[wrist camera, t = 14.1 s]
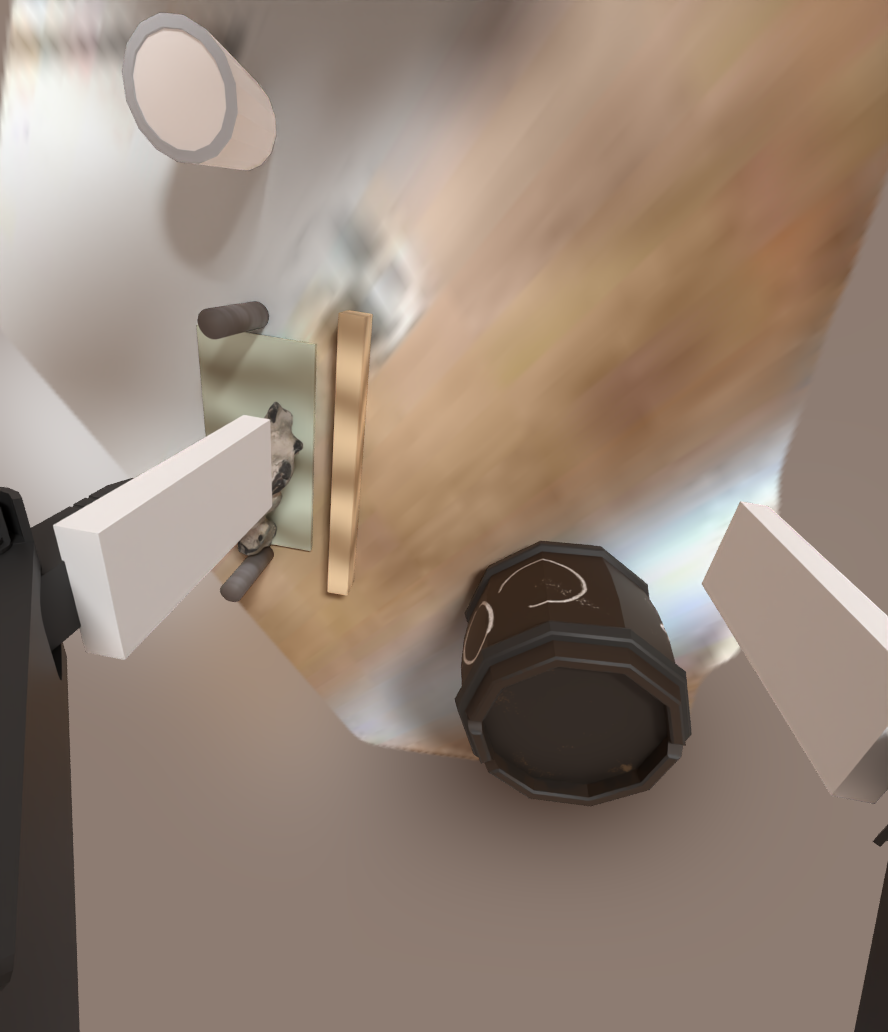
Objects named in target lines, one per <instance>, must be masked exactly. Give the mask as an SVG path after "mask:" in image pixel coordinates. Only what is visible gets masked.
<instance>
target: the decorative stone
mask: <svg viewBox="0 0 888 1032" xmlns="http://www.w3.org/2000/svg"><path fill="white" fill-rule="evenodd" d="M264 419H270V429H271V475H272V507H271V508H270V509H269V510H268V511H267V512H266V513H265V515H266V514H267V513H269V512H273V511H274V509H275V508H276V507H277V506H278V505H279V504H280V502H281V499H282V497H283V496H282V493H281V490H282V489H283V488H284V487H285V486H286V485H287V484H288V483H289V481H290V480H291V478H292V476H293V473H294V457H295V455H297V454H299V451H301V450H302V449H303V443H302V442H301V441H300V440H299V439H297V438H296V437H295V436H294V435H293V433H292V425H293V415H292V414H291V412H289V411H288V410H286V409H284V408H282V407H281V405H280V404H279V403H278V402H274V403H273V404H272V406H271V407H270V408H269V410H268V412H267V414H266V416H265V417H264ZM265 515H264V516H263V517H262V518H261V519H260V520H259V521H258V522H257V523H256V524H255V525H254V526H253V527H252V528H251V529H250V530H249V531H248V532H247V533H246V534H245V535H244V536H243V537H242V538H241V539H240V541H239V542H238V549H239V552H241V553H243V554H245V555H254V554H257V553H259V552H260V551H261V550H262V549H263V548H264V547H266V546H270V545H271V543H272V539H273V537H274V536H275V535H276V531H277V526H276V525H275V523H274V522H273V521H270V520H268V519H267V518H265Z"/></svg>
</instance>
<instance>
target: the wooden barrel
mask: <svg viewBox="0 0 888 1032" xmlns="http://www.w3.org/2000/svg"><path fill="white" fill-rule="evenodd" d="M465 615H466V618H467V622H468V627H467V630H466V634H465V638H464V645H463V653H462V662H461V675H462V687H461V689H460V690H459V692H458V694H457V696H456V698H455V702H456V706H457V709H458V712H459V715H460V718H461V720H462V723H463V726H464V729H465V731H466V734H467V737H468V740H469V742H470V745H471V748H472V751H473V753H474V755H475V756H477V757H478V758H479V760H480V762H481V763H484V762H485V765H486V767H487V770H488V772H489V773H491V774H492V775H494V776H495V777H497V778H498V779H500V780H501V781H503V782H505V783H506V784H508V785H509V786H511V787H512V788H514V789H516V790H517V791H519V792H520V793H522V794H523V795H525V796H527V797H528V798H531V799H538V800H546V801H554V802H561V803H569V804H577V805H584V806H593V805H597V804H601V803H604V802H608V801H612V800H615V799H619V798H622V797H626V796H630V795H633V794H637V793H640V792H644V791H647V790H650V789H651V788H652V787H653V786H654V785H655V784H656V783H657V782H658V781H659V779H660V778H661V777H662V776H663V775H664V774H665V773H666V772H667V771H668V770H669V769H670V768H671V767H672V766H673V765H674V764H675V763H676V762H677V760H679V759H680V757H681V756H682V749H683V745H686V744H685V741H686V740H687V739H688V738H689V737H690V736H691V721H690V711H689V700H688V689H687V679H686V672H685V671H684V670H683V669H682V668H680V667H679V666H678V665H676V664H675V660H674V656H673V653H672V649H671V645H670V641H669V637H668V635H667V633H666V631H665V628H664V626H663V624H662V621H661V619H660V617H659V614H658V612H657V610H656V609H655V607H654V606H653V604H652V603H651V601H650V599H649V592H648V585H647V584H646V583H645V582H644V581H643V580H642V579H640V578H639V577H638V576H637V575H636V574H634V573H633V572H632V571H631V570H629V569H628V568H627V567H626V566H624V565H623V564H622V563H621V562H619V561H618V560H617V559H616V558H614V557H613V556H612V555H611V554H610V553H608V552H607V551H606V550H605V549H603V548H602V547H601V546H594V545H582V544H571V543H560V542H549V541H539V542H537V543H535V544H533V545H531V546H529V547H527V548H525V549H523V550H521V551H519V552H517V553H515V554H513V555H510V556H508V557H506V558H504V559H502V560H500V561H498V562H496V563H494V564H492V565H490V566H489V567H488V568H487V570H486V572H485V574H484V576H483V578H482V580H481V582H480V584H479V586H478V588H477V590H476V592H475V594H474V596H473V598H472V600H471V602H470V604H469V606H468V608H467V610H466V612H465Z"/></svg>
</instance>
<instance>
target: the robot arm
mask: <svg viewBox="0 0 888 1032" xmlns="http://www.w3.org/2000/svg"><path fill="white" fill-rule="evenodd" d="M271 507H272V475H271V429H270V419H264V418H259V417H253V416H247V415H243V416H241V417H239V418H238V419H236V420H234V421H232V422H231V423H229V424H227V425H225V426H224V427H222V428H220V429H219V430H217V431H215V432H213V433H212V434H210V435H208V436H206V437H205V438H203V439H201V440H200V441H198V442H196V443H194V444H193V445H191V446H189V447H187V448H186V449H184V450H182V451H181V452H179V453H177V454H175V455H174V456H172V457H170V458H168V459H167V460H165V461H163V462H161V463H160V464H158V465H156V466H155V467H153V468H151V469H149V470H148V471H146V472H144V473H142V474H141V475H139V476H137V477H136V478H131V479H127V480H124V481H121V482H117V483H114V484H111V485H107V486H105V487H104V488H102V489H100V490H98V491H97V492H95V493H93V494H91V495H90V496H89V498H84V499H82V500H80V501H79V502H77V503H75V504H74V506H73V507H68V508H66V509H64V510H63V511H61V512H59V513H57V514H55V515H53V516H52V517H50V518H48V519H46V520H45V521H43V522H41V523H39V524H37V525H35V526H34V527H32V528H30V525H29V521H28V518H27V514H26V511H25V507H24V504H23V500H22V497H21V495H20V494H19V492H17V491H14V490H12V489H10V488H5V487H0V1032H80V1030H79V1002H78V972H77V943H76V915H75V887H74V886H75V885H74V856H73V828H72V798H71V769H70V739H69V711H68V682H67V656H66V652H65V649H64V645H63V641H64V640H66V639H67V638H68V637H69V636H70V635H72V634H73V633H74V632H75V631H76V630H77V629H78V628H80V632H81V636H82V640H83V644H84V648H85V652H87V653H92V654H97V655H102V656H107V657H113V658H118V659H123V660H125V659H126V658H127V657H128V656H129V655H130V654H131V653H132V652H133V651H134V650H135V649H136V648H137V647H138V645H140V643H142V641H143V640H144V639H145V638H146V637H147V636H148V635H149V634H150V633H151V632H152V631H153V630H154V629H155V628H156V627H157V626H158V625H159V624H160V622H162V621H163V620H164V619H165V618H166V616H167V615H168V614H169V613H170V612H171V611H172V610H173V609H174V608H175V607H176V606H177V605H178V604H179V603H180V602H181V601H182V600H183V599H184V598H185V597H186V596H187V595H188V594H189V592H190V591H191V590H192V589H193V588H194V587H195V586H196V585H197V584H198V583H199V582H200V581H201V580H202V579H203V578H204V577H205V576H206V575H207V574H208V573H209V572H210V571H211V570H212V569H213V568H214V567H215V566H216V564H217V563H218V562H219V561H220V560H221V559H222V558H223V557H224V556H225V555H226V554H227V553H228V552H229V551H230V550H231V549H232V548H233V547H234V546H235V545H236V544H237V543H238V542H239V541H240V539H241V538H242V537H243V536H244V535H245V534H246V533H247V532H248V531H249V530H250V529H251V528H252V527H253V526H254V525H255V524H256V523H257V522H258V521H259V520H260V519H261V518H262V517H263V516H264V515H265V513H266V512H267V511H268V510H269V509H270V508H271ZM702 585H703V587H704V588H705V590H706V592H707V593H708V595H709V597H710V598H711V600H712V601H713V603H714V605H715V606H716V608H717V610H718V611H719V613H720V615H721V616H722V618H723V619H724V621H725V623H726V624H727V626H728V628H729V629H730V631H731V633H732V634H733V636H734V637H735V639H736V641H737V642H738V644H739V646H740V647H741V649H742V651H743V652H744V654H745V655H746V657H747V659H748V660H749V662H750V663H751V665H752V667H753V669H754V670H755V672H756V673H757V675H758V677H759V678H760V680H761V682H762V683H763V685H764V686H765V688H766V690H767V691H768V693H769V695H770V696H771V698H772V700H773V701H774V703H775V704H776V706H777V708H778V709H779V711H780V713H781V714H782V716H783V718H784V719H785V721H786V722H787V724H788V726H789V727H790V729H791V731H792V732H793V734H794V736H795V737H796V739H797V740H798V742H799V744H800V745H801V747H802V749H803V750H804V752H805V754H806V755H807V757H808V758H809V760H810V762H811V763H812V765H813V767H814V768H815V770H816V772H817V773H818V775H819V776H820V778H821V780H822V781H823V783H824V785H825V786H826V788H827V790H828V791H829V793H830V794H831V796H835V797H841V798H846V799H851V800H856V801H861V802H867V803H872V804H875V803H876V802H877V801H878V800H879V799H880V797H881V796H882V795H883V794H884V793H885V792H886V791H887V790H888V616H887V615H886V614H885V613H884V612H883V611H882V610H880V609H879V608H878V607H877V606H876V605H875V604H874V603H873V602H872V601H871V600H870V599H869V598H867V597H866V596H865V595H864V594H863V593H862V592H861V591H860V590H859V589H858V588H857V587H856V586H855V585H853V584H852V583H851V582H850V581H849V580H848V579H847V578H846V577H845V576H843V574H842V573H840V572H839V571H838V570H837V569H836V568H835V567H834V566H833V565H832V564H831V563H830V562H828V561H827V560H826V559H825V558H824V557H823V556H822V555H821V554H820V553H819V552H818V551H817V550H815V549H814V548H813V547H812V546H811V545H810V544H809V543H808V542H807V541H806V540H805V539H804V538H803V537H801V536H800V535H799V534H798V533H797V532H796V531H795V530H794V529H793V528H792V527H791V526H790V525H788V524H787V523H786V522H785V521H784V520H783V519H782V518H781V517H780V516H779V515H778V514H777V513H775V512H774V511H773V510H772V509H771V508H770V507H769V506H764V505H759V504H753V503H747V502H741V501H740V503H739V505H738V507H737V509H736V512H735V514H734V516H733V518H732V520H731V522H730V524H729V527H728V529H727V531H726V533H725V535H724V537H723V539H722V542H721V544H720V546H719V548H718V550H717V552H716V554H715V556H714V559H713V561H712V563H711V565H710V567H709V569H708V571H707V574H706V576H705V578H704V580H703V582H702ZM885 841H888V825H887V826H886V827H885V828H884V829H883V830H882V831H881V832H880V834H878V836H877V837H876V838H875V840H874V841H873V842H874V843H876V844H877V845H878V846H882V844H883V843H884V842H885ZM854 1032H888V863H887V869H886V874H885V878H884V884H883V889H882V894H881V899H880V904H879V909H878V914H877V919H876V924H875V929H874V934H873V940H872V945H871V949H870V954H869V960H868V965H867V970H866V975H865V980H864V985H863V990H862V995H861V1000H860V1005H859V1010H858V1015H857V1020H856V1025H855V1030H854Z"/></svg>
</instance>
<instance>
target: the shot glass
mask: <svg viewBox="0 0 888 1032" xmlns="http://www.w3.org/2000/svg"><path fill="white" fill-rule="evenodd" d="M122 75H123V81H124V88H125V94H126V101H127V103H128V106H129V108H130V110H131V112H132V115H133V117H134V119H135V121H136V123H137V126H138V128H139V129H140V130H141V132H142V133H143V134H144V135H145V136H146V138H147V139H148V140H149V141H150V142H151V143H152V145H153V146H154V147H155V148H156V149H157V150H158V151H160V152H162V153H164V154H165V155H167V156H169V157H170V158H172V159H174V160H175V161H177V162H183V163H191V164H198V165H206V166H214V167H221V168H229V169H237V170H246V171H248V170H251V169H253V168H256V167H258V166H260V165H262V164H263V162H264V161H265V160H266V159H267V158H268V156H269V155H270V154H271V152H272V148H273V145H274V142H275V138H276V122H275V114H274V111H273V109H272V106H271V103H270V100H269V97H268V96H267V95H266V93H265V92H264V91H263V89H262V88H261V87H260V85H259V84H258V83H257V81H256V80H255V79H254V78H253V77H252V76H251V75H250V74H249V73H248V72H247V71H246V70H245V69H244V68H243V67H242V66H241V65H240V64H239V63H238V62H237V61H236V60H235V58H234V57H233V56H232V55H231V54H230V53H229V52H228V51H227V50H226V49H225V48H224V47H223V46H222V45H221V44H220V43H219V42H218V41H217V40H216V39H215V38H214V37H213V36H212V35H211V34H210V33H209V31H208V30H207V29H205V28H204V27H202V26H200V25H199V24H197V23H196V22H194V21H193V20H191V19H189V18H188V17H186V16H185V15H182V14H172V13H161V12H159V13H157V14H156V15H154V16H152V17H150V18H148V19H146V20H144V21H142V22H140V23H139V25H138V26H137V28H136V29H135V31H134V33H133V34H132V36H131V37H130V39H129V41H128V42H127V44H126V50H125V56H124V62H123V69H122Z"/></svg>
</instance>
